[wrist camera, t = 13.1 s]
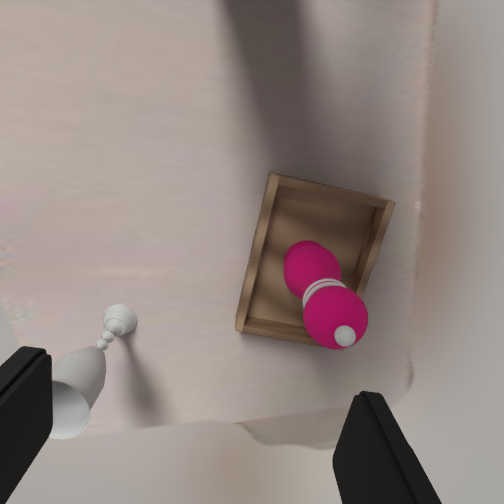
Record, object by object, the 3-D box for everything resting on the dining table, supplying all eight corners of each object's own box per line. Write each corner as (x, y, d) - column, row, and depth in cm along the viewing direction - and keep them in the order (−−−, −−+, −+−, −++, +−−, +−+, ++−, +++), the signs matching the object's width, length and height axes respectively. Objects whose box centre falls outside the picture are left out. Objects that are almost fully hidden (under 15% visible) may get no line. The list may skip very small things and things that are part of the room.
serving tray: (269, 172, 43) (271, 174, 40) (382, 197, 45) (395, 202, 41) (235, 316, 50) (235, 330, 46) (335, 335, 51) (343, 350, 47)
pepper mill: (341, 260, 46) (408, 340, 27) (304, 294, 48) (343, 392, 29) (307, 226, 45) (353, 285, 26) (269, 261, 46) (286, 343, 27)
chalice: (142, 341, 51) (91, 441, 34) (98, 338, 50) (23, 437, 33) (143, 299, 49) (88, 382, 31) (96, 295, 48) (15, 377, 31)
